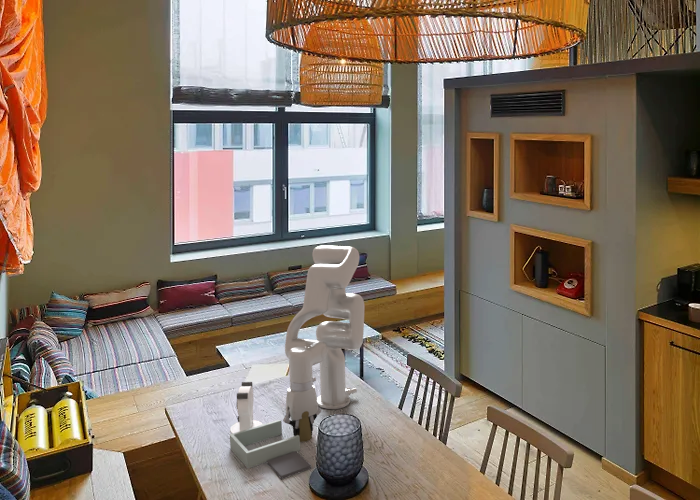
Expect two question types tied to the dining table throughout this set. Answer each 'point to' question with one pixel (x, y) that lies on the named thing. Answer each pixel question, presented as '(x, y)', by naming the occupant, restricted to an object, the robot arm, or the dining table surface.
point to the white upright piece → (245, 409)
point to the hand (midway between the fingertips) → (303, 435)
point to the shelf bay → (263, 452)
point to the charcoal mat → (288, 464)
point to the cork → (305, 427)
